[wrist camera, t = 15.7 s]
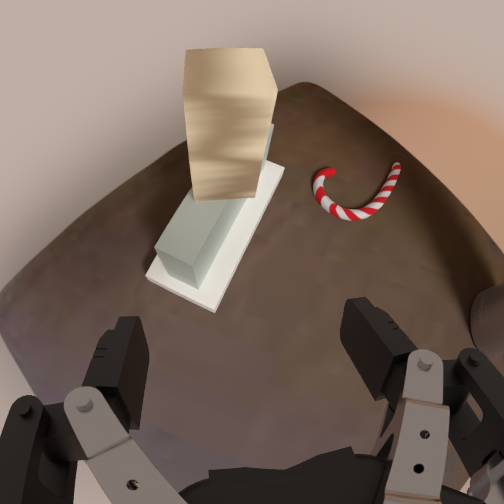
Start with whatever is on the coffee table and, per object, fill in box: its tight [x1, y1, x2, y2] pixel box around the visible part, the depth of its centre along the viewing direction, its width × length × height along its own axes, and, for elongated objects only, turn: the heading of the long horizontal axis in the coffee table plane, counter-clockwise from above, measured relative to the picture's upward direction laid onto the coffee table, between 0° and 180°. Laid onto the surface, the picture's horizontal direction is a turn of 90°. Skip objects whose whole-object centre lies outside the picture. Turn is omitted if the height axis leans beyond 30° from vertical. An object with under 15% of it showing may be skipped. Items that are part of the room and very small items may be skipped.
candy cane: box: [313, 162, 401, 220], centre depth 34 cm, size 8×1×15 cm
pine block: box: [183, 48, 278, 202], centre depth 18 cm, size 4×4×10 cm
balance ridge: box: [145, 123, 284, 313], centre depth 26 cm, size 7×17×8 cm, turn 156°
